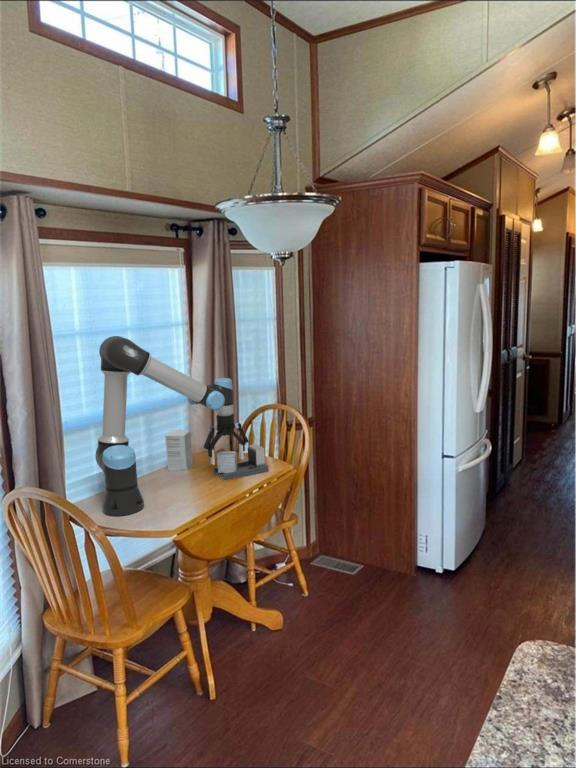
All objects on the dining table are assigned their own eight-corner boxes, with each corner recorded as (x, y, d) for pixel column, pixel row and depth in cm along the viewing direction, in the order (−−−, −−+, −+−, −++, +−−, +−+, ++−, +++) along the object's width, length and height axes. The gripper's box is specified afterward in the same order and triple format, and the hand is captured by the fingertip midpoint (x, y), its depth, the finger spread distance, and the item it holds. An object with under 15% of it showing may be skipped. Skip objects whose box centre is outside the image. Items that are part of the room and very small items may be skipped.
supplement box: (174, 464, 267) (171, 429, 264) (193, 464, 266) (190, 429, 263) (167, 471, 258) (164, 435, 255) (187, 471, 257) (184, 435, 254)
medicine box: (237, 469, 251) (236, 451, 249) (235, 473, 246) (234, 454, 245) (220, 470, 252) (219, 451, 250) (217, 473, 247) (216, 454, 246)
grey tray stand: (224, 480, 242) (222, 457, 240) (213, 473, 252) (212, 450, 251) (268, 471, 252) (267, 448, 250) (256, 464, 262) (255, 442, 260)
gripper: (247, 408, 254) (249, 454, 257) (194, 416, 242) (197, 463, 246) (254, 411, 247) (256, 458, 251) (200, 419, 235) (203, 468, 239)
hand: (227, 461), depth 248 cm, fingers open, 13 cm apart
